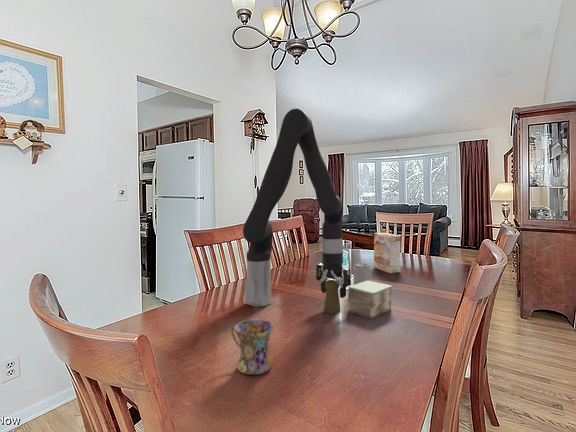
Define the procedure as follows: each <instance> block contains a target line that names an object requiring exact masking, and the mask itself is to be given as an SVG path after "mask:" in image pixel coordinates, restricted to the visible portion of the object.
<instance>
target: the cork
mask: <svg viewBox="0 0 576 432" xmlns="http://www.w3.org/2000/svg"><path fill="white" fill-rule="evenodd" d="M325 288H326V289H327V290H326V293H325V299H324V305H323V306H324V308H323V311H324V312H326V313H327V314H338V313H340V312H341V311H342V310H341V303H340V302H341V301H340V293H339V290H340V285H339V283H338V282H336V280H334V279H327V281H326V283H325Z"/></svg>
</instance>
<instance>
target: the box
mask: <svg viewBox="0 0 576 432" xmlns="http://www.w3.org/2000/svg"><path fill="white" fill-rule="evenodd" d="M347 294H348V303H347V307H348V312H349V313H352V314H355V315H358V316H361V317H365V318H367V319H371V320H374V319H376V318H378V317H380V316H382V315H384V314H387V313H388V312H391V311H392V288H391V289H388V290H386V291H383V292H381V293H378V294H376V295H370V294H366V293H362V292H358V291H354V290H351V289H349V288H348V293H347Z"/></svg>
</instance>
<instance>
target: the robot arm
mask: <svg viewBox="0 0 576 432" xmlns="http://www.w3.org/2000/svg"><path fill="white" fill-rule="evenodd" d="M278 134H279V135H278V138H277V141H276V145H275V147H274V150H273V152H272V155H271V158H270V160H269V163H268V164H267V168H266V170H265V173H264V175H263V178H262V180H261V184H260V186H259V190H258V192H257V195H256V198H255V201H254V204H253V206H252V208H251V211H250V212H249V215H248V217H247V219H246V220H245V222H244V224H243V228H242V234H243V235H242V236H243V238H244V240H246V242H247V243H249V248H248V250H247V252H246V279H245V280H244V292H245V293H244V294H245V295H244V296H245V297H244V302H245V304H246V305H249V306H251V307H253V308H257V307H266V306H269V305H270V304H271V303H272V273H271V271H272V268H271V259H272V258H271V256H272V255H271V254H272V251H273V227H272V224H271V222H270V221H269V220H270V217H271V214H272V213H273V210H274V209H275V207H276V205H277V204H278V202H279V201H280V200H281V199H282V197H283V195H284V194H285V193H286V192H285V191H286V189H287V187H288V184H289V182H290V179H291V176H292V172H293V165H294V157H295V152H296V149H297V147H298V146H299V148H300V151H301V152H302V154H303V155H302V156H303V159H304V163H305V169H306V171H307V174H308V177H309V180H310V182H311V184H312V186H313V189H314V192H315V196H316V200H317V204H318V206H319V209H320V211H321V212H322V213H323V216H324V218H323V219H324V221H323V223H322V226H321V230H322V231H321V233H322V234H321V236H322V237H321V238H322V239H321V259H322V260H321V262H322V263H318V264H316V271H315V273H316V274H315V279H316V281H319V283H320V291H321V293H322V294H326V290H327V289H326V288H325V283H326V281H328V280H336V282H338V283H339V299H340V298H341V299H344V298H346V296H347V287H349V286H352V278H351V277H352V275H351V269H350V268H343V267H344V266H343V264H344V244H343V227H342V221H343V212H344V210H343V209H344V207H343V201H342V199H341V197H339V196H338V195H337V194H336V191H335V190H334V187H333V180H332V177H331V175H330V172H329V170H328V168H327V165H326V162H325V160H324V158H323V156H322V153H321V151H320V148H319V145H318V143H317V139H316V135H315V130H314V126H313V121H312V119H311V117H310V115H309V114H307V113H306V112H305V111H304V110H302V109H300V108H292V109H290V110H289V111H287V112H286V114H285V115H284V117H283V119H282V122H281V127H280V131H279V133H278Z"/></svg>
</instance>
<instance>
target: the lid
mask: <svg viewBox="0 0 576 432" xmlns="http://www.w3.org/2000/svg"><path fill="white" fill-rule="evenodd" d="M349 289H351V290H354V291H358V292H362V293H366V294H370V295H376V294H378V293H381V292H383V291H386V290H388V289H391V290H392V289H393V285H391V284H386V283H383V282H382V283H381V282H377V281H373V280H371V281H369V280H367V281H364V282H361V283H358V284H355V285H353V284H351V285H350V286H348V290H349Z"/></svg>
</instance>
